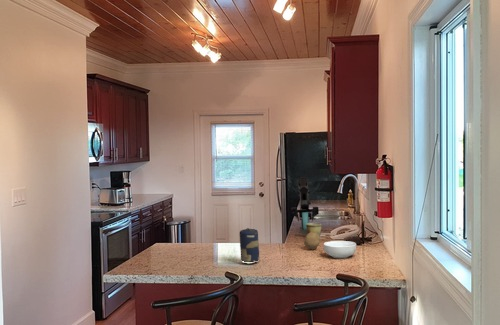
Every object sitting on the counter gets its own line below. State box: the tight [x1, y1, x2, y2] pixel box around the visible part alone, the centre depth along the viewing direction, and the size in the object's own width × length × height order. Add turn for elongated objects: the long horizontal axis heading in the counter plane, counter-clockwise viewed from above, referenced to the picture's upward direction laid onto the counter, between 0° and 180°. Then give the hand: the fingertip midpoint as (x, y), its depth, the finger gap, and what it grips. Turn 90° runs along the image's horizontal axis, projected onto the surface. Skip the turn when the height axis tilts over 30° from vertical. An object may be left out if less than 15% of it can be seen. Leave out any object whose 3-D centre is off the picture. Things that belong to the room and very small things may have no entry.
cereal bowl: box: [323, 240, 357, 259], centre depth 224 cm, size 17×17×7 cm
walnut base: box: [294, 228, 308, 237], centre depth 295 cm, size 12×12×4 cm
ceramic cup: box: [306, 222, 323, 239], centre depth 277 cm, size 13×10×10 cm
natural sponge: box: [303, 232, 321, 251], centre depth 245 cm, size 9×9×10 cm
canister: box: [239, 227, 260, 262], centre depth 221 cm, size 10×10×18 cm
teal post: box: [302, 212, 310, 230], centre depth 295 cm, size 4×4×14 cm
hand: (305, 220), depth 294 cm, fingers open, 9 cm apart
